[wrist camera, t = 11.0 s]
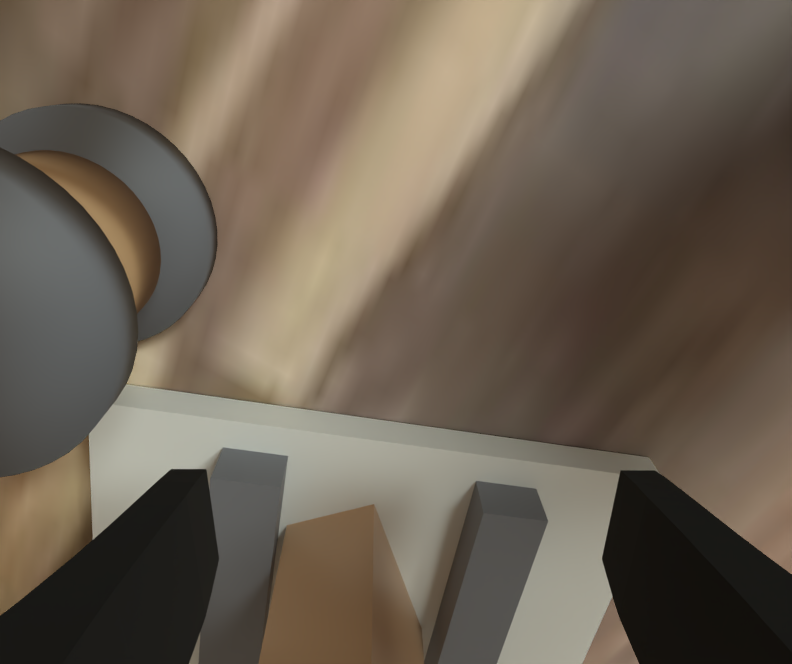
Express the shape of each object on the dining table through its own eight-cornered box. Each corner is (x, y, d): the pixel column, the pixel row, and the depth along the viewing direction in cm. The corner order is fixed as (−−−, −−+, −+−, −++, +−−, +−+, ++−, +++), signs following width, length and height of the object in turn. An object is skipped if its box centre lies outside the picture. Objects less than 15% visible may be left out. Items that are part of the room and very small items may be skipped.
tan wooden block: (374, 504, 19) (371, 678, 14) (421, 628, 22) (435, 819, 16) (286, 525, 20) (250, 704, 14) (343, 646, 22) (330, 839, 16)
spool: (224, 128, 16) (114, 172, 9) (211, 345, 18) (118, 497, 12) (-33, 81, 15) (-341, 94, 9) (-8, 313, 18) (-231, 455, 11)
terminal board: (649, 457, 20) (686, 511, 18) (550, 689, 25) (568, 757, 23) (104, 381, 19) (62, 430, 16) (110, 645, 23) (79, 713, 21)
